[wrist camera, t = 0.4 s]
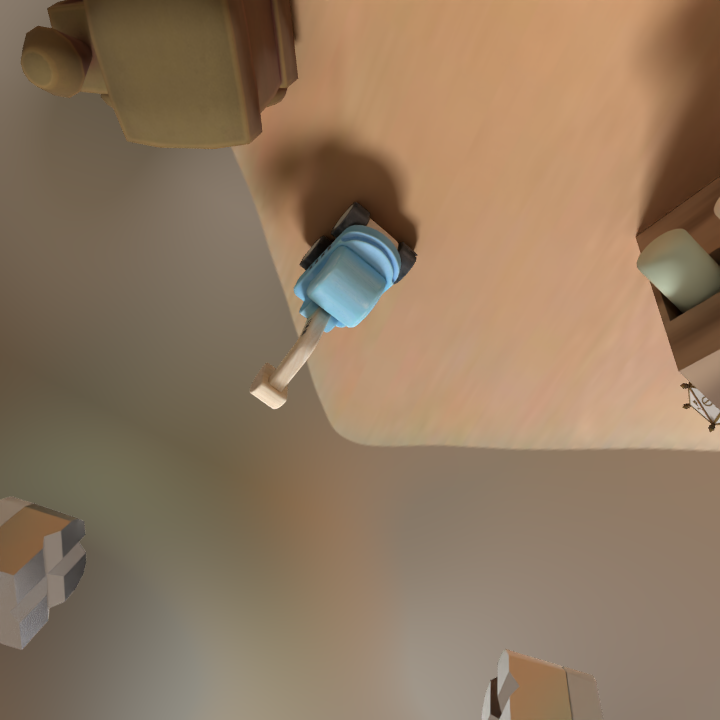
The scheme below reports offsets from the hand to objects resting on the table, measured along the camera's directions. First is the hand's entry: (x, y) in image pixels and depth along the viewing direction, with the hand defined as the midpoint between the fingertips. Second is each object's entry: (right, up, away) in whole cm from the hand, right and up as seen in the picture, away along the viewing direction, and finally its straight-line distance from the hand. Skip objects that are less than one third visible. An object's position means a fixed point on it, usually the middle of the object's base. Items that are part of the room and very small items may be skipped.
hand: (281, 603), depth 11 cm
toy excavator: (0, +15, +53) cm, 55 cm away
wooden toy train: (-12, +34, +40) cm, 54 cm away
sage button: (+26, +12, +34) cm, 45 cm away
